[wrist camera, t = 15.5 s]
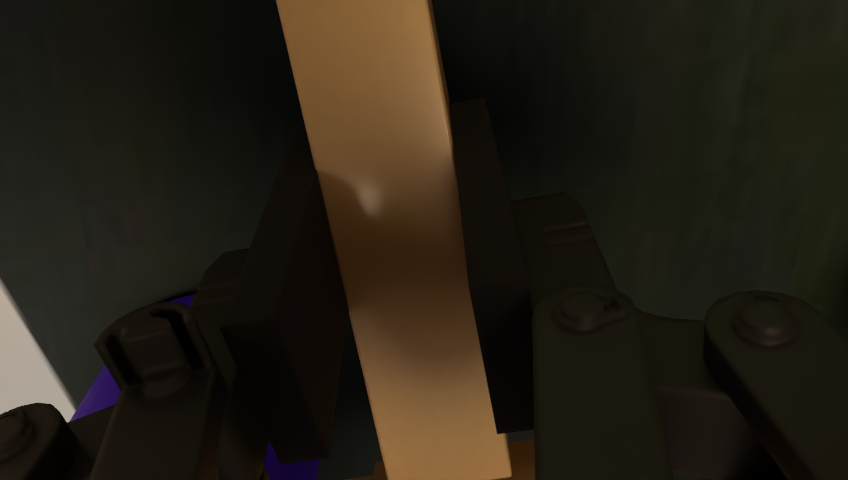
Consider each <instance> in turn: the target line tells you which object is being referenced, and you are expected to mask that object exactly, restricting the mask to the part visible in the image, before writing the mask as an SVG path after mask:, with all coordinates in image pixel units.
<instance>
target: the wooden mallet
mask: <svg viewBox="0 0 848 480" xmlns="http://www.w3.org/2000/svg"><path fill="white" fill-rule="evenodd" d="M276 2H277V7H278V11H279V15H280V20H281V24H282V28H283V33H284V37H285V41H286V45H287V50H288V54H289V58H290V63H291V67H292V71H293V75H294V80H295V84H296V88H297V93H298V97H299V101H300V105H301V110H302V114H303V118H304V123H305V127H306V131H307V136H308V140H309V144H310V148H311V153H312V157H313V161H314V166H315V169H316V170H317V174H318V179H319V183H320V187H321V192H322V196H323V200H324V205H325V209H326V214H327V218H328V222H329V227H330V231H331V235H332V240H333V244H334V249H335V253H336V257H337V262H338V266H339V270H340V275H341V279H342V284H343V288H344V292H345V297H346V301H347V305H348V310H349V316H350V320H351V324H352V329H353V333H354V337H355V342H356V346H357V350H358V354H359V359H360V363H361V367H362V372H363V376H364V380H365V384H366V389H367V393H368V397H369V402H370V406H371V410H372V414H373V419H374V423H375V427H376V432H377V436H378V440H379V445H380V449H381V453H382V457H383V461H378V462H376V464H375V469H374V474H373V476H365V477H358V478H351V479H344V480H535V444H534V439H532V440H525V441H518V442H511V443H508V436H507V433H503V434H497V431H496V426H495V421H494V416H493V410H492V405H491V400H490V395H489V390H488V385H487V379H486V374H485V369H484V364H483V359H482V354H481V348H480V343H479V338H478V333H477V328H476V323H475V318H474V312H473V307H472V302H471V297H470V292H469V285H468V276H467V267H466V258H465V249H464V239H463V230H462V221H461V212H460V203H459V193H458V184H457V175H456V166H455V157H454V147H453V137H452V128H451V119H450V110H449V104H450V102H449V96H448V90H447V85H446V79H445V74H444V68H443V62H442V57H441V51H440V45H439V40H438V34H437V29H436V23H435V17H434V12H433V6H432V0H276Z"/></svg>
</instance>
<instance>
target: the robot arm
mask: <svg viewBox="0 0 848 480" xmlns="http://www.w3.org/2000/svg"><path fill="white" fill-rule="evenodd" d="M449 110H450V119H451V128H452V137H453V147H454V157H455V166H456V175H457V184H458V193H459V203H460V212H461V221H462V230H463V239H464V249H465V258H466V267H467V276H468V285H469V292H470V297H471V302H472V307H473V312H474V318H475V323H476V328H477V333H478V338H479V343H480V348H481V354H482V359H483V364H484V369H485V374H486V379H487V385H488V390H489V395H490V400H491V405H492V410H493V416H494V421H495V426H496V431H497V434H503V433H510V432H517V431H525V430H532V429H534V444H535V480H674V478H673V474H677V475H684V476H691V477H698V478H703V479H704V480H848V340H847V339H846V338H845V337H844V336H843V335H842V334H841V333H840V332H839V331H838V330H837V329H836V328H835V327H834V326H833V325H832V324H831V323H830V322H829V321H828V320H827V319H826V318H825V317H824V316H823V315H822V314H821V313H820V312H818V311H817V310H816V309H814V308H813V307H811V306H810V305H808V304H807V303H805V302H804V301H802V300H799V299H797V298H794V297H791V296H788V295H785V294H782V293H776V292H768V291H759V290H756V291H746V292H736V293H734V294H731V295H729V296H726V297H723V298H721V299H718V300H717V301H716V302H715V303H714V304H713V305H712V306H711V307H710V308H709V309H708V310H707V314H706V318H705V321H700V320H685V319H673V318H665V317H659V316H655V315H652V314H649V313H645V312H643V311H641V310H639V309H637V308H635V307H634V305H633V303H632V301H631V299H630V298H629V297H627V296H626V295H624V294H623V293H621V292H620V291H619V290H617V289H616V287H615V284H614V282H613V279H612V277H611V275H610V272H609V270H608V268H607V265H606V263H605V260H604V258H603V256H602V253H601V251H600V248H599V246H598V244H597V241H596V239H594V234H593V232H592V229H591V227H590V225H589V224H588V220H587V218H586V215H585V213H584V210H583V208H582V206H581V204H579V203H578V202H576V201H575V200H573V199H572V198H570V197H569V196H567V195H566V194H565V193H558V194H552V195H546V196H540V197H534V198H528V199H522V200H517V201H511V202H509V198H508V193H507V189H506V185H505V181H504V177H503V172H502V168H501V164H500V160H499V156H498V151H497V147H496V143H495V139H494V135H493V130H492V126H491V122H490V118H489V114H488V109H487V105H486V101H485V97H484V98H478V99H473V100H467V101H462V102H457V103H451V104H449ZM197 290H198V292H195V294H194V297H193V299H192V301H191V303H190V305H191V307H190V308H188V307H187V306H186V305H185V304H183V303H177V302H171V301H170V302H162V303H154V304H151V305H148V306H145V307H142V308H139V309H136V310H134V311H132V312H130V313H128V314H127V315H125V316H123V317H121V318H119V319H118V320H116V321H115V322H114V323H113V324H112V325H110V326H109V327H108V328H107V329H106V330H104V331H103V332H102V334H101V335H100V337H99V338H98V339H97V341H96V342H95V344H94V346H95V348H96V349H97V351H98V353H99V355H100V356H101V358H102V360H103V361H104V363H105V365H106V367H107V368H108V370H109V372H110V373H111V375H112V377H113V379H114V380H115V382H116V384H117V386H118V387H119V389H120V392H119V395H118V398H117V401H116V404H114V405H112V406H109V407H107V408H105V409H102V410H99V411H97V412H94V413H91V414H89V415H86V416H84V417H81V418H78V419H76V420H73V421H70V422H68V423H67V422H66V421H65V419H64V418H63V416H62V415H61V413H60V412H59V411H58V410H57V409H56V408H55V407H54V406H53V405H51V404H44V403H34V404H29V405H24V406H20V407H17V408H15V409H12V410H9V411H8V412H5V413H3V414H1V415H0V480H271V479H270V477H269V474H268V472H267V470H266V468H265V466H264V461H265V457H266V453H267V449H268V444H269V440H270V442H271V445H272V447H273V449H274V451H275V454H276V456H277V458H278V460H279V463H280V465H282V464H289V463H296V462H304V461H311V460H318V459H325V458H329V450H330V443H331V436H332V429H333V421H334V414H335V407H336V399H337V392H338V385H339V377H340V370H341V363H342V355H343V348H344V341H345V333H346V326H347V319H348V311H349V310H348V305H347V301H346V297H345V292H344V288H343V284H342V279H341V275H340V270H339V266H338V262H337V257H336V253H335V249H334V244H333V240H332V235H331V231H330V227H329V222H328V218H327V214H326V209H325V205H324V200H323V196H322V192H321V187H320V183H319V179H318V174H317V170H316V169H315V166H314V161H313V157H312V153H311V148H310V144H309V140H308V136H307V131H301V132H295V133H294V135H293V137H292V140H291V143H290V145H289V148H288V150H287V153H286V156H285V158H284V161H283V163H282V166H281V169H280V171H279V174H278V176H277V179H276V182H275V184H274V187H273V189H272V192H271V195H270V197H269V200H268V202H267V205H266V208H265V210H264V213H263V215H262V218H261V221H260V223H259V226H258V228H257V231H256V234H255V236H254V239H253V241H252V244H251V247H250V248H248V249H242V250H236V251H230V252H224V253H223V254H222V255H221V256H220V257H219V258H218V259H217V260H216V261H215V262H214V263H213V264H212V265H211V266H210V267H209V268H208V269H207V270H206V271H205V273H204V275H203V277H202V279H201V281H200V284H199V286H198V288H197Z"/></svg>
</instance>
